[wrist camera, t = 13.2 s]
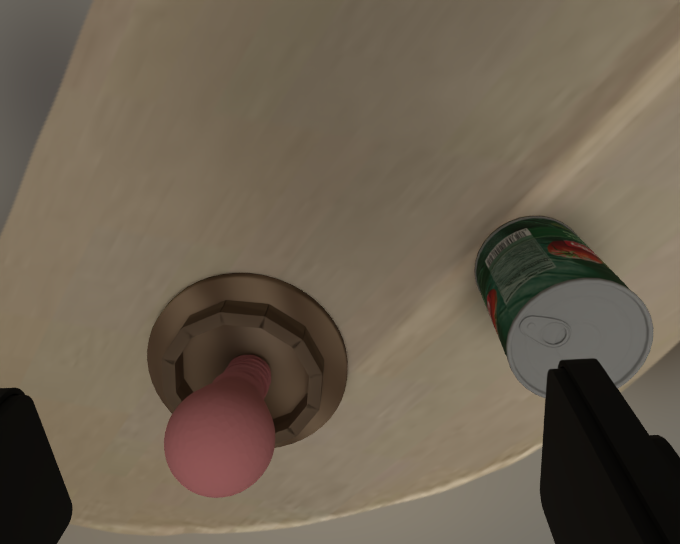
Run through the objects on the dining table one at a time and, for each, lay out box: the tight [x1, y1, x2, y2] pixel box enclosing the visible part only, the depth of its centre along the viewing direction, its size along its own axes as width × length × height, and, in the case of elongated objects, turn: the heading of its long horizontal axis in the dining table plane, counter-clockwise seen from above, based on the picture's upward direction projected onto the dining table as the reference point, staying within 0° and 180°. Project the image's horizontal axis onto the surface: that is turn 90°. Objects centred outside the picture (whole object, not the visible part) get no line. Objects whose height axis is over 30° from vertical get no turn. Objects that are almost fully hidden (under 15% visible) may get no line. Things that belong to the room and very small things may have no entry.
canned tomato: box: [475, 216, 653, 398], centre depth 36 cm, size 8×8×11 cm
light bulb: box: [164, 355, 275, 498], centre depth 39 cm, size 7×7×12 cm
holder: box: [147, 273, 347, 448], centre depth 44 cm, size 16×16×3 cm
